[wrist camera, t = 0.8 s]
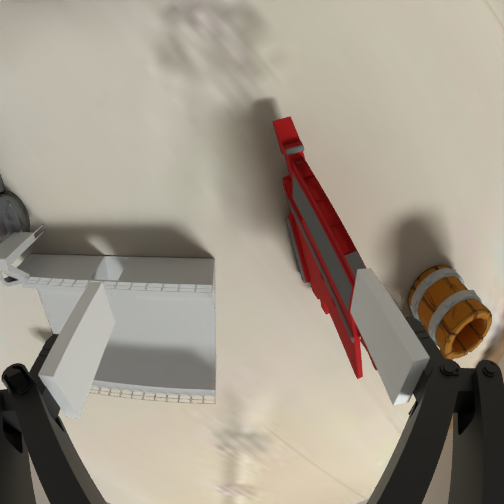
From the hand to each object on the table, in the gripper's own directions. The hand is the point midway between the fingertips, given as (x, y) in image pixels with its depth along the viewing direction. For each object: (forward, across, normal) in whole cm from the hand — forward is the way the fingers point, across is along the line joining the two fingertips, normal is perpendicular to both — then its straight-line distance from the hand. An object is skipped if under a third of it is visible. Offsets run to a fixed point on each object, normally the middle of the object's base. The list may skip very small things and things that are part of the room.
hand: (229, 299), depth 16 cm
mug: (+26, +33, -23) cm, 48 cm away
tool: (+29, +8, -4) cm, 30 cm away
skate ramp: (+26, -18, -19) cm, 37 cm away
